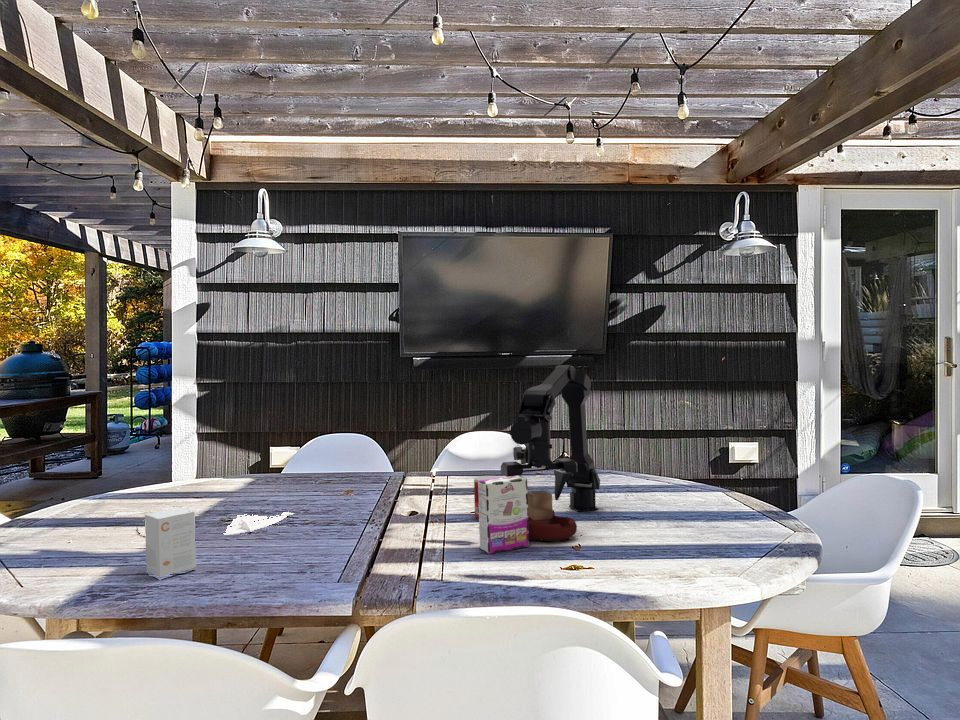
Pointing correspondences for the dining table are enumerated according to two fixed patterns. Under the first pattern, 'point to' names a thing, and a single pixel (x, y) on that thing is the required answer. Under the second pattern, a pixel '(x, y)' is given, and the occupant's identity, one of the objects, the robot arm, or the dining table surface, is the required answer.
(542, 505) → the walnut block
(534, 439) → the robot arm
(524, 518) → the candy bar box
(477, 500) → the canned food
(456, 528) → the dining table surface
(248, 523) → the white flat piece
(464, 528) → the dining table surface
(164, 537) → the small box
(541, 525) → the ashtray
